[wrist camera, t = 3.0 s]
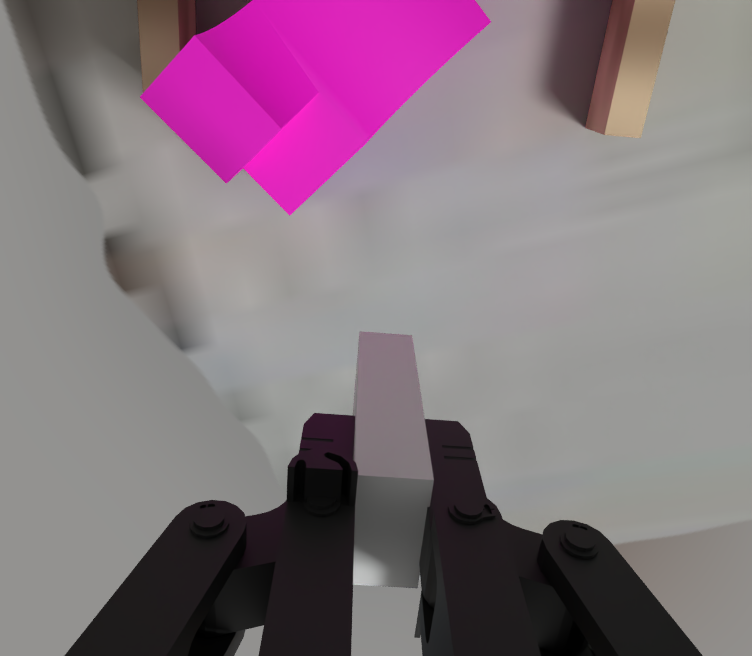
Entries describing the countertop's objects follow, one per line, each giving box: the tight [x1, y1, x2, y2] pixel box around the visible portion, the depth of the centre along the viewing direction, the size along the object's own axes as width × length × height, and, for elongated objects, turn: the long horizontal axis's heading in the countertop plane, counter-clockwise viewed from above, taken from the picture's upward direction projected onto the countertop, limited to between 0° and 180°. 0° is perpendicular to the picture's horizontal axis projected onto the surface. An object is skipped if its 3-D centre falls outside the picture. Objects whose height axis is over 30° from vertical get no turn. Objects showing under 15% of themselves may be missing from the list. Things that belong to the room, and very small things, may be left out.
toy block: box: [140, 0, 491, 215], centre depth 22 cm, size 15×6×8 cm, turn 132°
